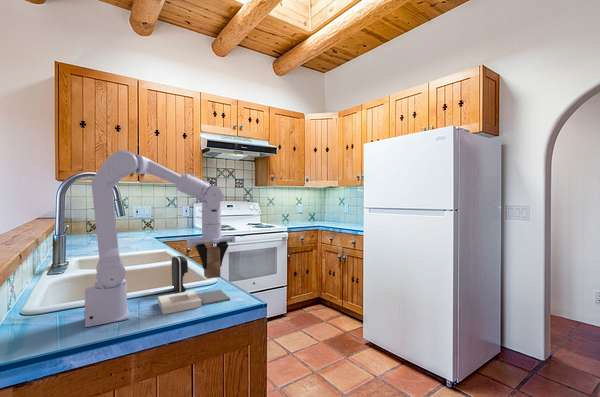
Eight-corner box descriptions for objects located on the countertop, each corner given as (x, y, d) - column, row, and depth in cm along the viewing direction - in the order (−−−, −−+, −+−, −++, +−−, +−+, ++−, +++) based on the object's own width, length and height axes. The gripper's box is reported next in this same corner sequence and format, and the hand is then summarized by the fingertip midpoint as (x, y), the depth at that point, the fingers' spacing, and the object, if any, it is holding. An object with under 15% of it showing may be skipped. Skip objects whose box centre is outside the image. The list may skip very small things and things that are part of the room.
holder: (163, 314, 83) (162, 307, 83) (158, 303, 92) (158, 296, 92) (201, 306, 88) (201, 300, 88) (193, 296, 97) (193, 290, 97)
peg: (207, 278, 93) (207, 249, 93) (204, 275, 97) (203, 247, 96) (220, 276, 95) (220, 248, 95) (216, 274, 99) (216, 246, 99)
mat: (203, 305, 90) (203, 303, 90) (195, 295, 98) (195, 294, 98) (230, 299, 94) (230, 298, 94) (220, 291, 102) (220, 289, 102)
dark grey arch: (189, 291, 103) (188, 257, 102) (177, 293, 100) (177, 258, 100) (182, 286, 108) (182, 254, 108) (171, 288, 106) (171, 255, 106)
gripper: (190, 226, 88) (190, 273, 89) (238, 223, 96) (238, 266, 96) (185, 224, 94) (185, 268, 95) (230, 221, 102) (231, 262, 102)
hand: (212, 267), depth 96 cm, fingers closed on peg, 4 cm apart
